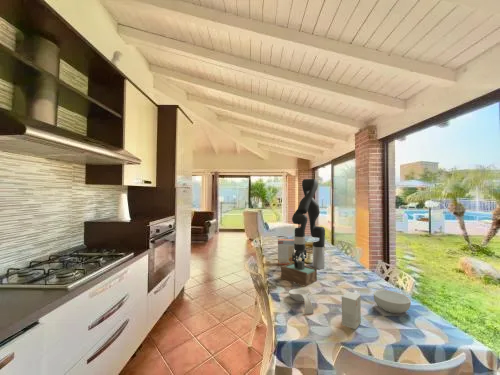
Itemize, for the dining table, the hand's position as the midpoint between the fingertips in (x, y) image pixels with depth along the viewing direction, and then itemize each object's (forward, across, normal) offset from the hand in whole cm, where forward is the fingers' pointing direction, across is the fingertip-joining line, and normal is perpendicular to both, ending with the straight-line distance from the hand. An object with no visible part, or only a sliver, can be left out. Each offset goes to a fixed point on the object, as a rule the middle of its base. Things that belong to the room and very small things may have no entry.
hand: (299, 266), depth 166 cm
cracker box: (+10, -24, -30) cm, 39 cm away
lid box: (+10, 0, -1) cm, 10 cm away
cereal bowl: (+10, +1, +57) cm, 58 cm away
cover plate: (+3, 0, 0) cm, 3 cm away
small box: (+10, +30, +48) cm, 58 cm away
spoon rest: (+10, +29, +21) cm, 37 cm away
